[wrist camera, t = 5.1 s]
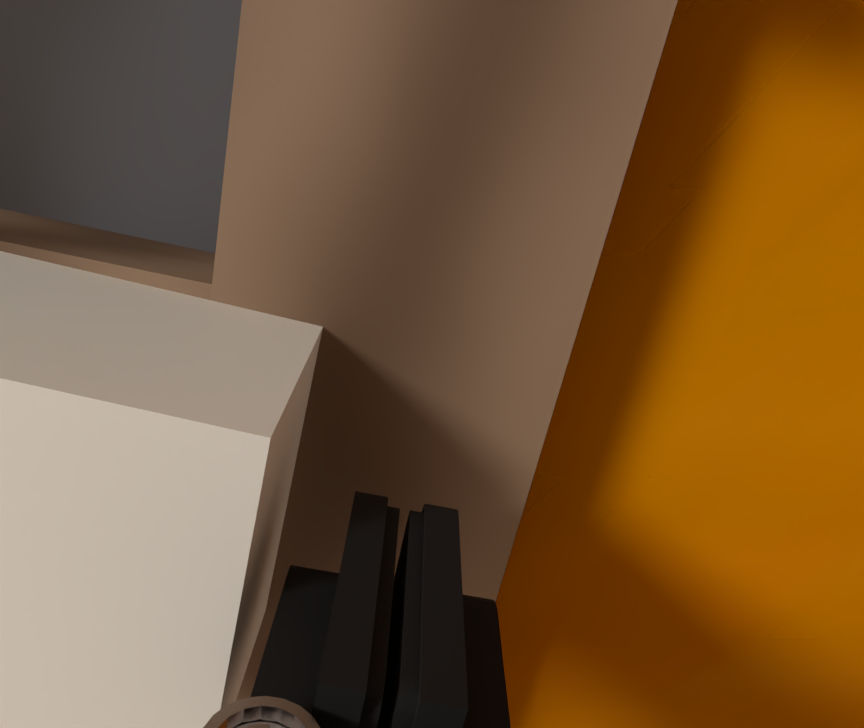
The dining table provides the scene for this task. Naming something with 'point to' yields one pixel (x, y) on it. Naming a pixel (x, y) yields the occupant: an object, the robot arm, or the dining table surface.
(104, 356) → the cream block
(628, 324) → the dining table surface
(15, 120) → the box
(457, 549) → the robot arm
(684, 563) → the dining table surface
